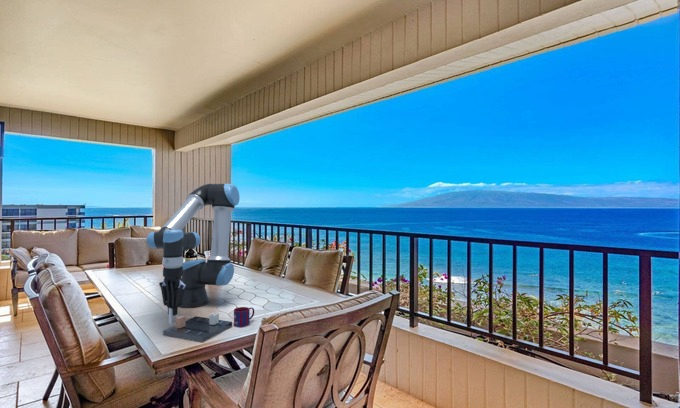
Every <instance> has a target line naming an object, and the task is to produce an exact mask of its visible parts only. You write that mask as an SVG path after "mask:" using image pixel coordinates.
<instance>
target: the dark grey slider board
mask: <svg viewBox="0 0 680 408" xmlns="http://www.w3.org/2000/svg"><path fill="white" fill-rule="evenodd" d="M231 328H233V321H229V320H223V319H219V323H217V324H215V325H211V324H209V317H203V316H196V315H195V316H194V317H191V318H189V319H186V326H184V327H182V328H175V324H174V325H173V326H170V327H168V328H165V329H163V331H162V333H163V334H162V336H166V337H171V338H177V339H182V340H187V341H192V340H193V342H199V343H205V342H206V341H208V340H210V339H212V338H213V337H216V336H217V335H219V334H221V333H223V332H225V331H226V330H228V329H231Z"/></svg>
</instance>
